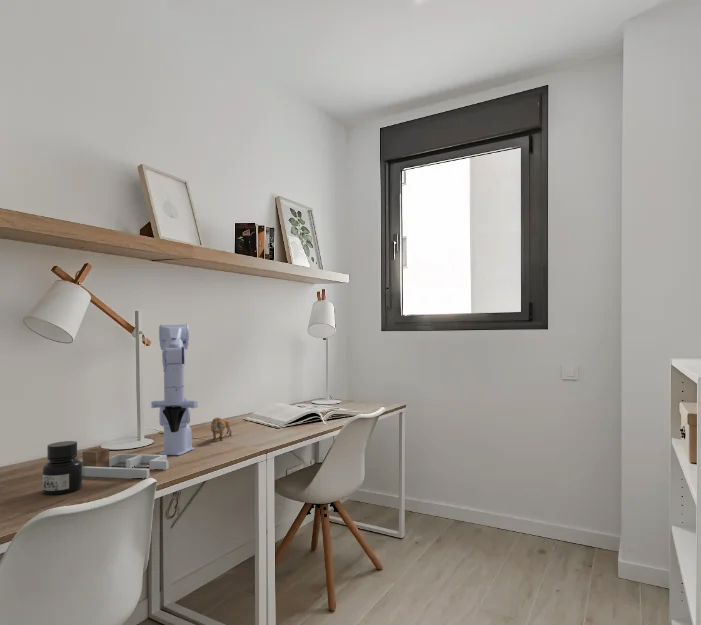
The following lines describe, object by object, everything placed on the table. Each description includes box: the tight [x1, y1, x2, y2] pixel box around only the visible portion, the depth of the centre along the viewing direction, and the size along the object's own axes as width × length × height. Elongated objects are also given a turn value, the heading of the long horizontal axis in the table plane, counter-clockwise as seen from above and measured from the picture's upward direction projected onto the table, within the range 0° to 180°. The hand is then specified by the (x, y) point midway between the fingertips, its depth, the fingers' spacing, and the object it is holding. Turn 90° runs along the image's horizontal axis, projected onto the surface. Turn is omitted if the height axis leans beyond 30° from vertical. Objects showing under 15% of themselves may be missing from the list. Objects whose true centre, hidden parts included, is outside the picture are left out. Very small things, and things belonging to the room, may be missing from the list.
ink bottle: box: [41, 440, 83, 495], centre depth 130 cm, size 10×9×12 cm
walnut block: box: [82, 447, 110, 467], centre depth 148 cm, size 5×5×6 cm
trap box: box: [80, 453, 170, 480], centre depth 148 cm, size 16×28×2 cm, turn 77°
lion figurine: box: [210, 417, 232, 442], centre depth 189 cm, size 15×5×9 cm, turn 178°
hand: (174, 431), depth 151 cm, fingers closed
